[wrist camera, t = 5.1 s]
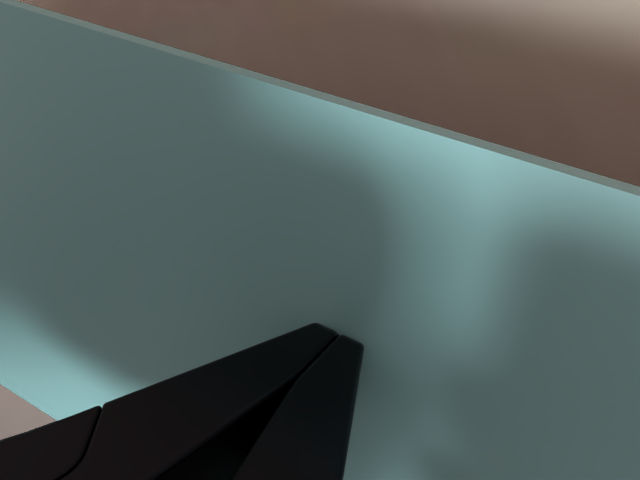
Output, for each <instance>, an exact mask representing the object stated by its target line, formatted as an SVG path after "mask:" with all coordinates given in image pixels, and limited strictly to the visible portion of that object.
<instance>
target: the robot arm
mask: <svg viewBox="0 0 640 480" xmlns="http://www.w3.org/2000/svg"><path fill="white" fill-rule="evenodd" d="M363 353H364V345H363V344H362V343H360V342H358V341H356V340H354V339H352V338H350V337H347V336H345V335H338V333H337V332H336V331H334V330H332V329H330V328H328V327H326V326H324V325H322V324H319V323H311V324H309V325H306V326H303V327H301V328H298V329H296V330H293V331H290V332H288V333H285V334H283V335H280V336H277V337H275V338H272V339H270V340H267V341H264V342H262V343H259V344H257V345H254V346H251V347H249V348H246V349H244V350H241V351H238V352H236V353H233V354H231V355H228V356H225V357H223V358H220V359H218V360H215V361H213V362H210V363H207V364H205V365H202V366H200V367H197V368H194V369H192V370H189V371H187V372H184V373H181V374H179V375H176V376H174V377H171V378H168V379H166V380H163V381H161V382H158V383H155V384H153V385H150V386H148V387H145V388H142V389H140V390H137V391H135V392H132V393H129V394H127V395H124V396H122V397H119V398H116V399H114V400H111V401H109V402H106V403H104V405H103V407H101V406H95V407H93V408H90V409H87V410H85V411H82V412H80V413H77V414H74V415H72V416H69V417H66V418H64V419H61V420H58V421H55V422H52V423H50V424H47V425H44V426H41V427H39V428H36V429H33V430H30V431H27V432H24V433H21V434H18V435H15V436H12V437H9V438H5V439H2V440H0V480H343V478H344V472H345V465H346V459H347V453H348V447H349V440H350V434H351V428H352V422H353V416H354V409H355V403H356V397H357V391H358V384H359V378H360V372H361V366H362V360H363Z"/></svg>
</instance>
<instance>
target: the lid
mask: <svg viewBox="0 0 640 480" xmlns="http://www.w3.org/2000/svg"><path fill="white" fill-rule="evenodd" d="M311 323H319V324H322V325H324V326H326V327H328V328H330V329H332V330H334V331H336V332H337V333H338V335H345V336H347V337H350V338H352V339H354V340H356V341H358V342H360V343H362V344H363V345H364V353H363V360H362V366H361V372H360V378H359V384H358V391H357V397H356V403H355V409H354V416H353V422H352V428H351V434H350V440H349V447H348V453H347V459H346V465H345V472H344V478H343V480H640V187H639V186H636V185H632V184H629V183H625V182H622V181H619V180H615V179H612V178H609V177H605V176H602V175H599V174H595V173H592V172H589V171H585V170H582V169H579V168H575V167H572V166H569V165H565V164H562V163H559V162H555V161H552V160H549V159H545V158H542V157H538V156H535V155H532V154H528V153H525V152H522V151H518V150H515V149H512V148H508V147H505V146H502V145H498V144H495V143H492V142H488V141H485V140H482V139H478V138H475V137H472V136H468V135H465V134H462V133H458V132H455V131H452V130H448V129H445V128H441V127H438V126H435V125H431V124H428V123H425V122H421V121H418V120H415V119H411V118H408V117H405V116H401V115H398V114H395V113H391V112H388V111H385V110H381V109H378V108H375V107H371V106H368V105H365V104H361V103H358V102H354V101H351V100H348V99H344V98H341V97H338V96H334V95H331V94H328V93H324V92H321V91H318V90H314V89H311V88H308V87H304V86H301V85H298V84H294V83H291V82H288V81H284V80H281V79H278V78H274V77H271V76H268V75H264V74H261V73H257V72H254V71H251V70H247V69H244V68H241V67H237V66H234V65H231V64H227V63H224V62H221V61H217V60H214V59H211V58H207V57H204V56H201V55H197V54H194V53H191V52H187V51H184V50H181V49H177V48H174V47H170V46H167V45H164V44H160V43H157V42H154V41H150V40H147V39H144V38H140V37H137V36H134V35H130V34H127V33H124V32H120V31H117V30H114V29H110V28H107V27H104V26H100V25H97V24H94V23H90V22H87V21H84V20H80V19H77V18H73V17H70V16H67V15H63V14H60V13H57V12H53V11H50V10H47V9H43V8H40V7H37V6H33V5H30V4H27V3H23V2H20V1H17V0H0V384H1V385H3V386H4V387H6V388H7V389H9V390H10V391H12V392H13V393H15V394H17V395H18V396H20V397H21V398H23V399H24V400H26V401H28V402H29V403H31V404H32V405H34V406H35V407H37V408H38V409H40V410H42V411H43V412H45V413H46V414H48V415H49V416H51V417H52V418H54V419H56V420H57V421H58V420H61V419H64V418H66V417H69V416H72V415H74V414H77V413H80V412H82V411H85V410H87V409H90V408H93V407H95V406H101V407H103V405H104V403H106V402H109V401H111V400H114V399H116V398H119V397H122V396H124V395H127V394H129V393H132V392H135V391H137V390H140V389H142V388H145V387H148V386H150V385H153V384H155V383H158V382H161V381H163V380H166V379H168V378H171V377H174V376H176V375H179V374H181V373H184V372H187V371H189V370H192V369H194V368H197V367H200V366H202V365H205V364H207V363H210V362H213V361H215V360H218V359H220V358H223V357H225V356H228V355H231V354H233V353H236V352H238V351H241V350H244V349H246V348H249V347H251V346H254V345H257V344H259V343H262V342H264V341H267V340H270V339H272V338H275V337H277V336H280V335H283V334H285V333H288V332H290V331H293V330H296V329H298V328H301V327H303V326H306V325H309V324H311Z"/></svg>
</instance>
